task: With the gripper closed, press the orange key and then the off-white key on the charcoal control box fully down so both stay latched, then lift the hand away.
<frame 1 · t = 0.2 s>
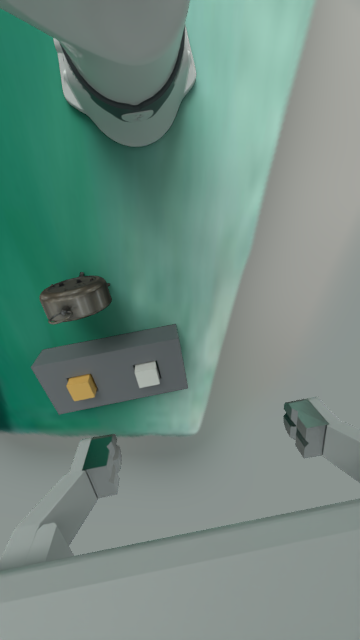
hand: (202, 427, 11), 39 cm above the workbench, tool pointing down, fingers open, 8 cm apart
alarm clock: (85, 282, 47), on the workbench
control box: (118, 361, 56), on the workbench
white key: (147, 373, 51), point 7 cm above the workbench, slide at 0.0 cm
orange key: (82, 386, 50), point 7 cm above the workbench, slide at 0.0 cm
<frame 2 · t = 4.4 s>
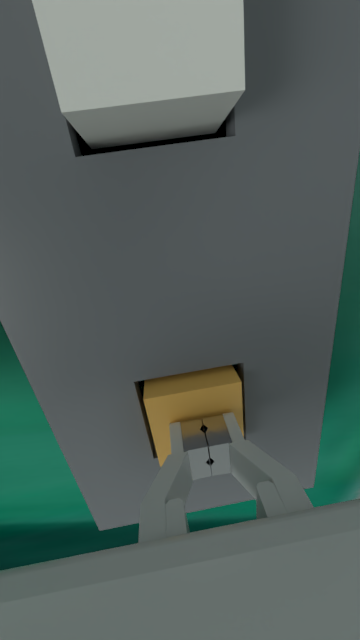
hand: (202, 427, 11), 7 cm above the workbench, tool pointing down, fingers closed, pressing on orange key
control box: (167, 258, 15), on the workbench
white key: (139, 20, 6), point 6 cm above the workbench, slide at 0.0 cm
orange key: (193, 404, 13), point 5 cm above the workbench, slide at 1.2 cm, touching gripper
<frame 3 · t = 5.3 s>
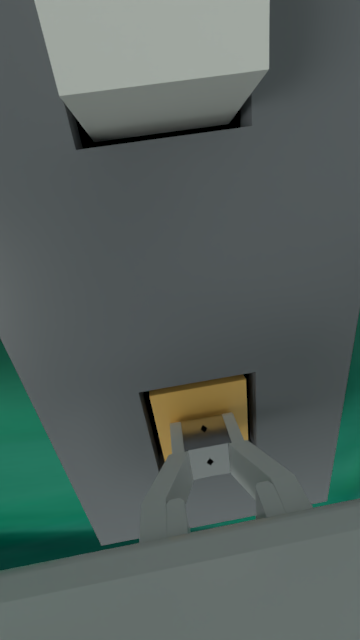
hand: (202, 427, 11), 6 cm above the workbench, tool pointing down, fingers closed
control box: (173, 260, 14), on the workbench
orange key: (197, 402, 13), point 4 cm above the workbench, slide at 2.1 cm
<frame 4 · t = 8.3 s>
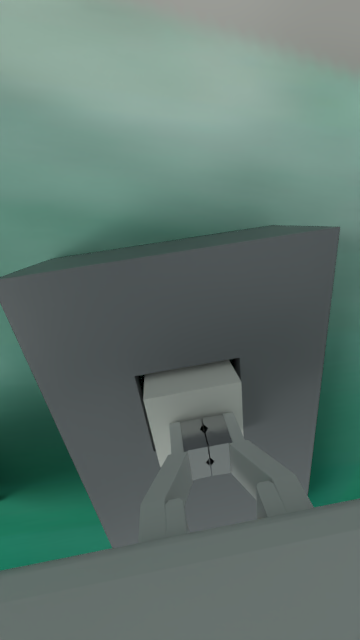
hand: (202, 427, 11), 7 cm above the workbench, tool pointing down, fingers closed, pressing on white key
control box: (191, 419, 21), on the workbench
white key: (193, 405, 13), point 6 cm above the workbench, slide at 0.7 cm, touching gripper
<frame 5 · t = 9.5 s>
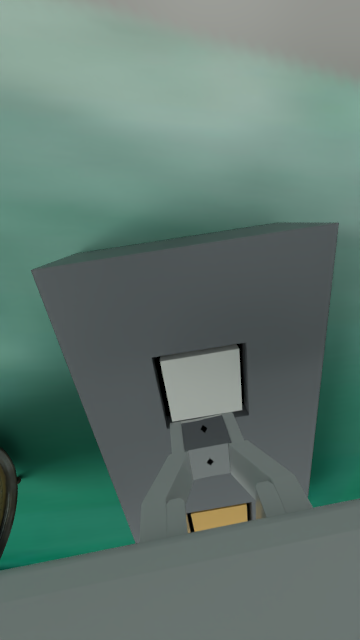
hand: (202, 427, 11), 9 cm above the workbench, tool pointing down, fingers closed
control box: (200, 407, 22), on the workbench
white key: (199, 372, 15), point 4 cm above the workbench, slide at 2.1 cm
orange key: (216, 505, 21), point 4 cm above the workbench, slide at 2.1 cm
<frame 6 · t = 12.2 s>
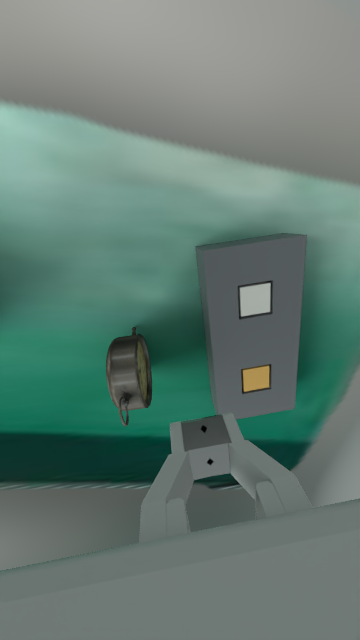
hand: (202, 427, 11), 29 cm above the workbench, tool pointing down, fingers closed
alarm clock: (133, 350, 42), on the workbench
control box: (243, 327, 42), on the workbench
white key: (251, 297, 36), point 4 cm above the workbench, slide at 2.1 cm
orange key: (253, 373, 41), point 4 cm above the workbench, slide at 2.1 cm
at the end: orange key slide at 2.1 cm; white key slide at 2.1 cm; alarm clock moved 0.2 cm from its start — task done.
